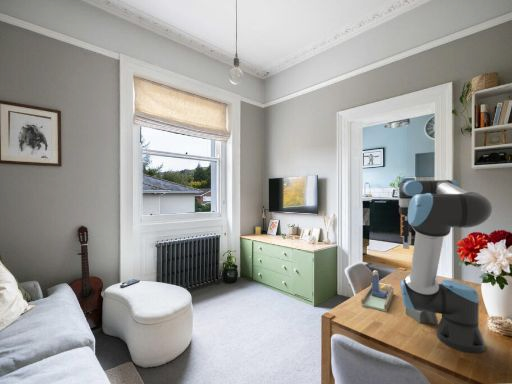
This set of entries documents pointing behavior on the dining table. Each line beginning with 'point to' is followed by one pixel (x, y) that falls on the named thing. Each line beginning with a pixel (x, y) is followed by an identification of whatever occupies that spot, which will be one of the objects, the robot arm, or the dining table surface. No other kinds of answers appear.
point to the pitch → (377, 299)
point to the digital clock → (422, 316)
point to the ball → (384, 288)
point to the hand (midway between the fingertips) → (407, 246)
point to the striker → (377, 286)
